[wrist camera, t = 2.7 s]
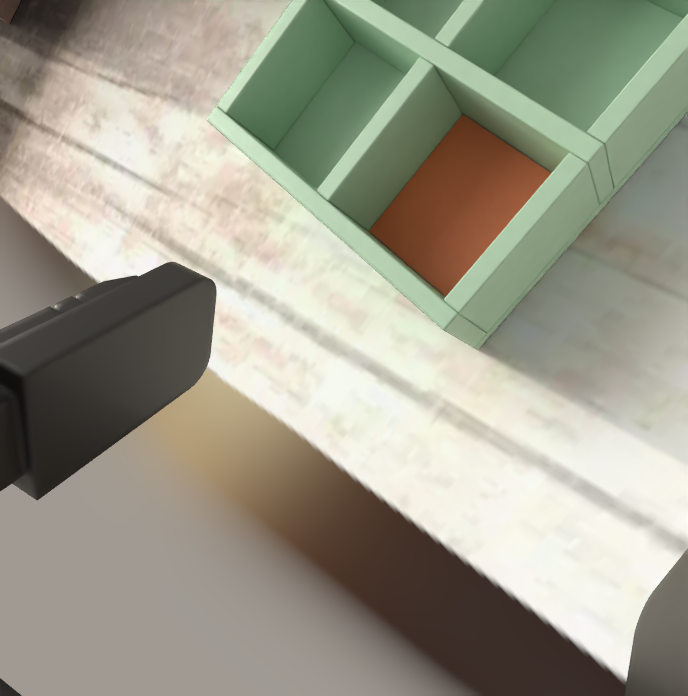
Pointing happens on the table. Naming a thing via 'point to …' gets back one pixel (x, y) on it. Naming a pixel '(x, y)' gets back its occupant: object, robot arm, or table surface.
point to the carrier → (460, 132)
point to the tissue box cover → (8, 9)
